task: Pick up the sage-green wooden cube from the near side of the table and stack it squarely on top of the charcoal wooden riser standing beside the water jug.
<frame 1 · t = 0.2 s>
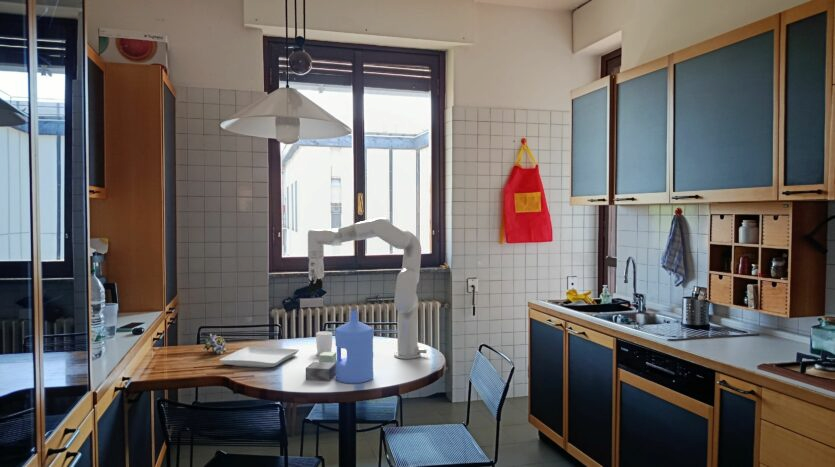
hand: (315, 290, 285), 31 cm above the table, tool pointing down, fingers open, 9 cm apart
white cup: (324, 353, 287), on the table
sage cube: (327, 367, 262), on the table
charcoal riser: (321, 377, 245), on the table
square plate: (260, 362, 272), on the table
water jug: (354, 379, 243), on the table
passion flower: (214, 354, 286), on the table
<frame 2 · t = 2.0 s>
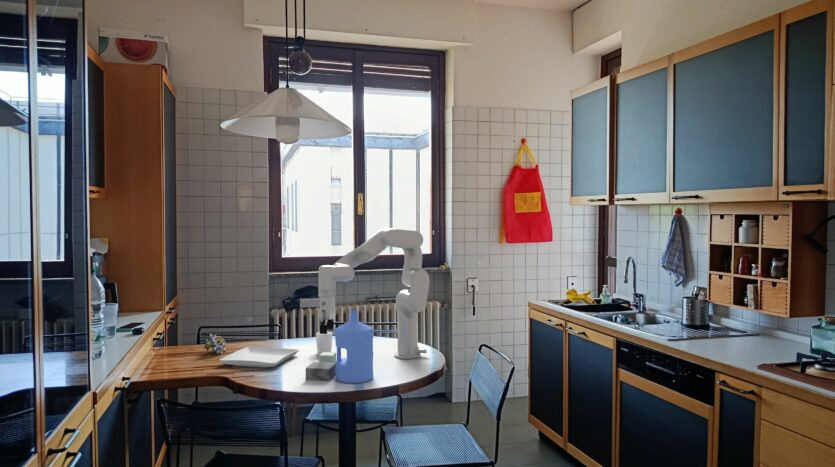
hand: (326, 331, 261), 16 cm above the table, tool pointing down, fingers open, 9 cm apart
nothing on the table moved.
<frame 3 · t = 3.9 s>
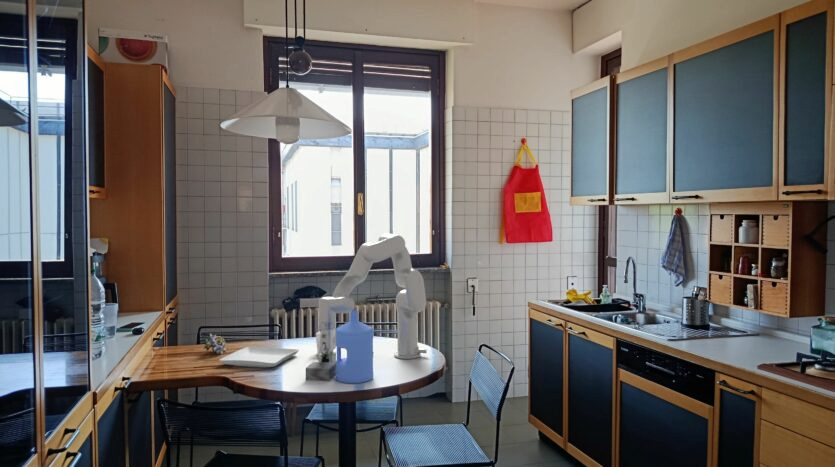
hand: (327, 364, 261), 1 cm above the table, tool pointing down, fingers closed on sage cube, 6 cm apart
sage cube: (327, 366, 262), on the table, touching gripper
everything else where it was.
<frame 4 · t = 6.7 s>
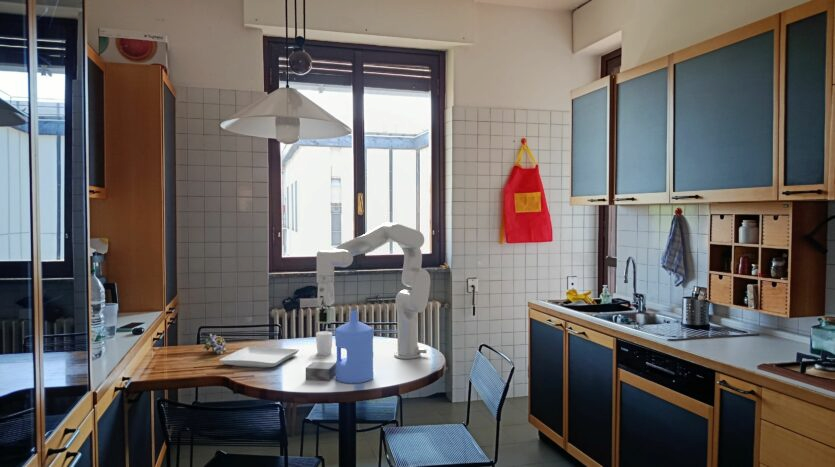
hand: (325, 319, 256), 22 cm above the table, tool pointing down, fingers closed on sage cube, 6 cm apart
sage cube: (325, 321, 256), point 21 cm above the table, touching gripper
everything else where it was.
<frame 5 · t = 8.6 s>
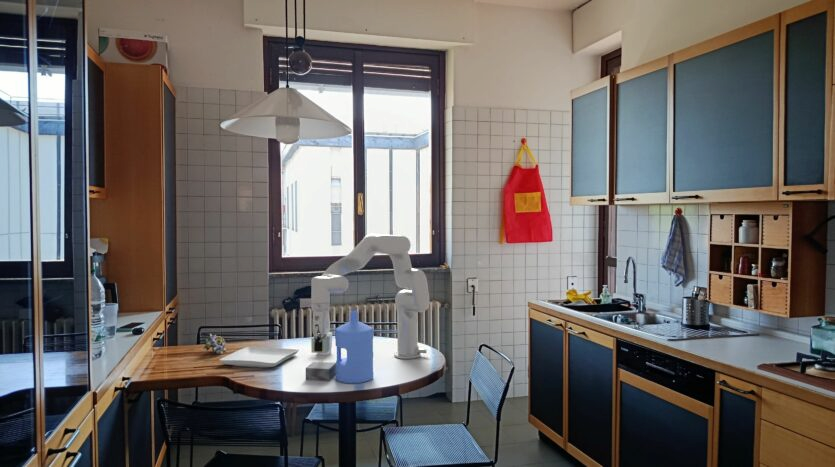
hand: (320, 349, 245), 12 cm above the table, tool pointing down, fingers closed on sage cube, 6 cm apart
sage cube: (320, 351, 245), point 11 cm above the table, touching gripper
everything else where it was.
when the fingers open (7 cm above the table, at t = 9.9 s): sage cube drops 2 cm, resting on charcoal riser.
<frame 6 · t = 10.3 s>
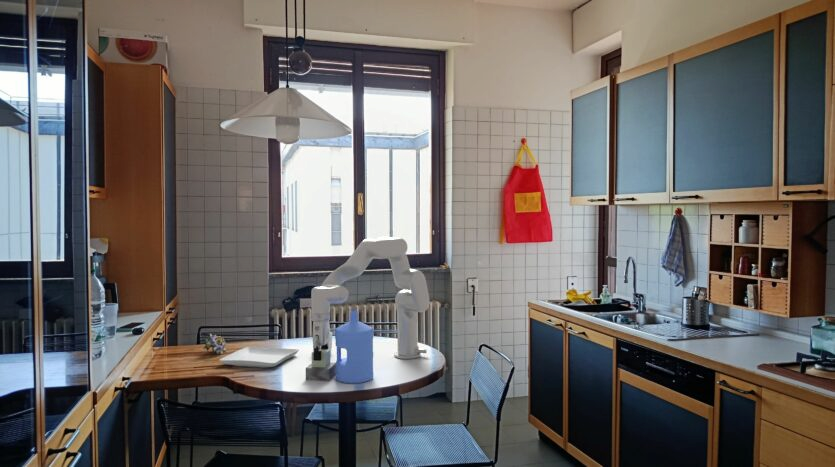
hand: (321, 357, 245), 8 cm above the table, tool pointing down, fingers open, 9 cm apart
sage cube: (321, 365, 245), point 5 cm above the table, touching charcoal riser
everything else where it was.
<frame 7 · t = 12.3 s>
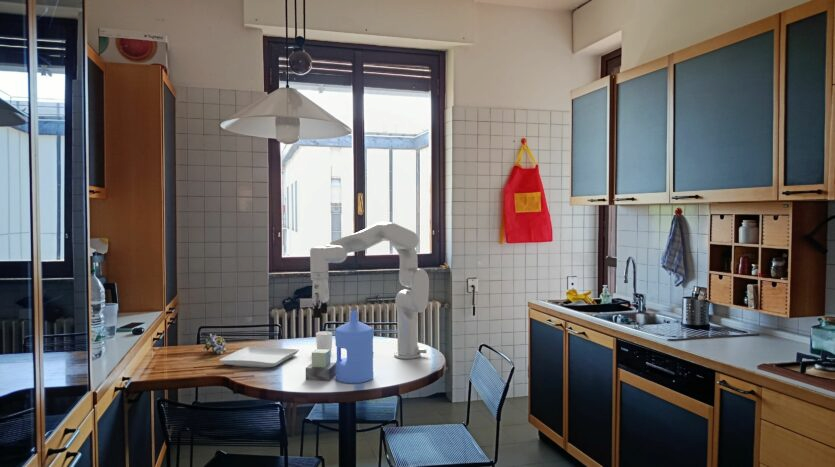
hand: (320, 315, 252), 25 cm above the table, tool pointing down, fingers open, 9 cm apart
nothing on the table moved.
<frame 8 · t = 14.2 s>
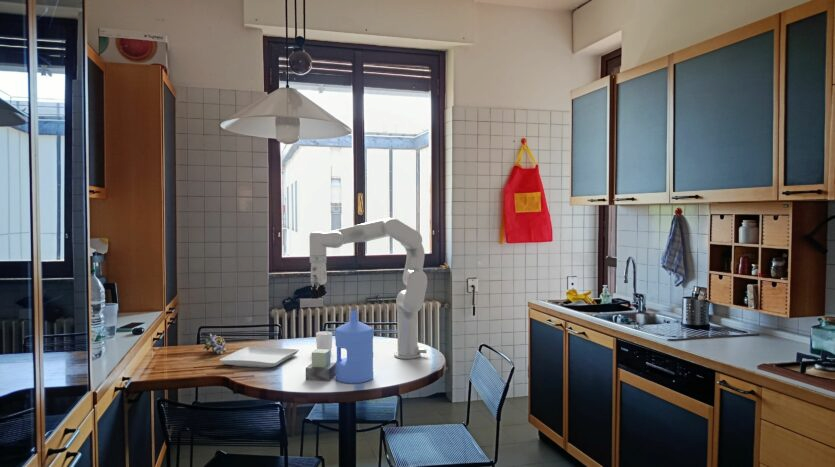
hand: (318, 296, 267), 30 cm above the table, tool pointing down, fingers open, 9 cm apart
nothing on the table moved.
at the end: sage cube 0.1 cm off-centre on the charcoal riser, point 5.0 cm above the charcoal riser's base; sage cube tilted 0°; the gripper is holding nothing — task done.
